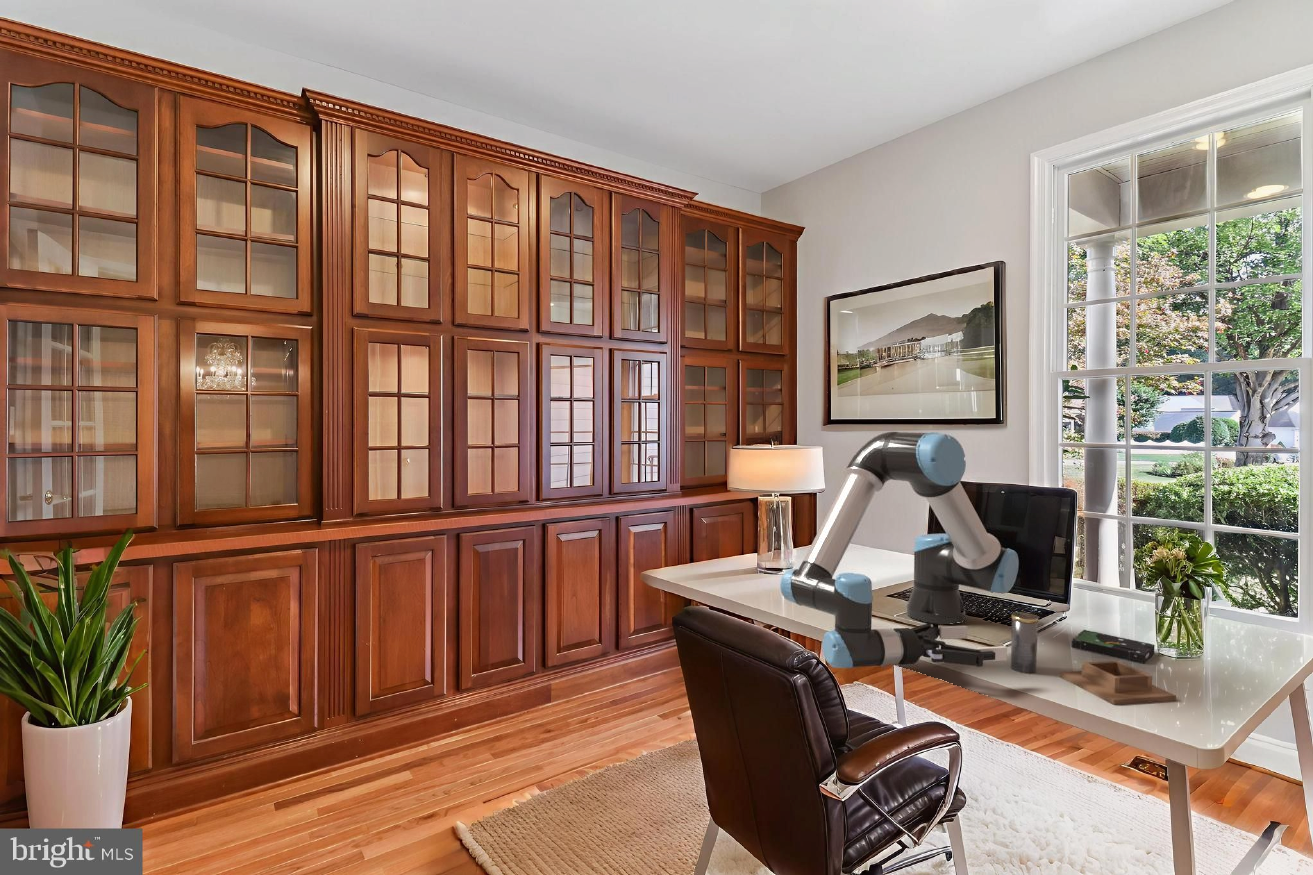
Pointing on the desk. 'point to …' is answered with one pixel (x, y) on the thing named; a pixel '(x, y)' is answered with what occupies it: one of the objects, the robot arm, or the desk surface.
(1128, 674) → the socket base
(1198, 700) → the desk surface
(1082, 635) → the disk drive
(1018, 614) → the grey post
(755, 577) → the desk surface
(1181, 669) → the desk surface
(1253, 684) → the desk surface
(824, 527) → the robot arm
